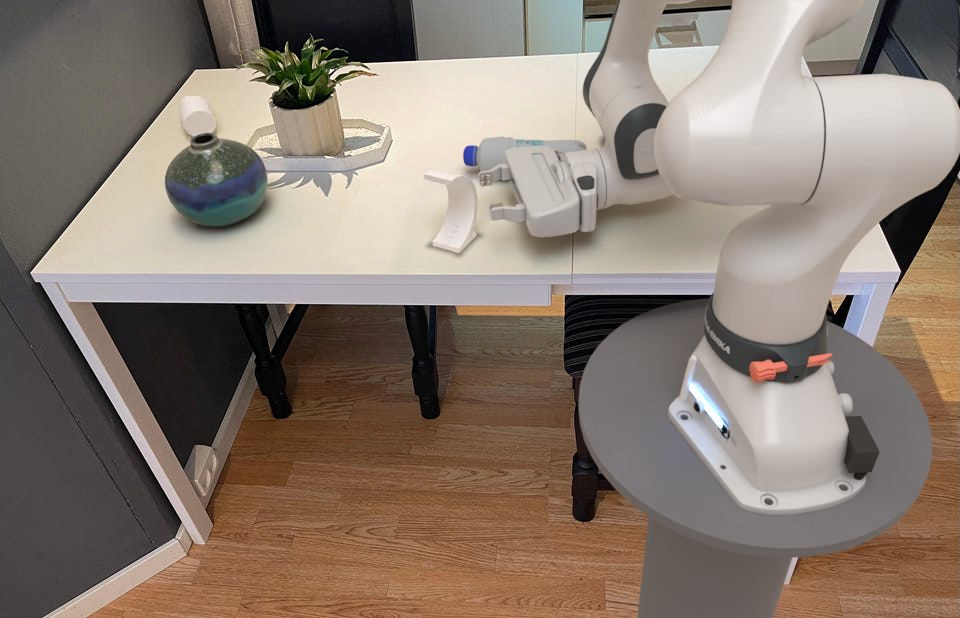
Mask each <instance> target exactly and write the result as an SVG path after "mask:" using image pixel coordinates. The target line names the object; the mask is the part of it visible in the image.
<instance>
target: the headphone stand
mask: <svg viewBox="0 0 960 618" xmlns="http://www.w3.org/2000/svg"><path fill="white" fill-rule="evenodd" d="M423 180H425V181H429V182H433V183H437V184H440V185H445V187H446V191H447V199H448V200H447V210H446V215H445V218H444V222H443V224H442V226H441V228H440V230H439V232H438V233H437V235H436V236H435V237H434V239H432V246H433V247H436V248H440V249H442V250H445V251H446V250H447V251H450V252H454V253H457V254H460V253H461V252H462V251H463V250H464V249H465V248H467V246H468V245H469V244H470V243H471V242H472V241H473V240H474V239H475V238H476V237H477V236H478V234H477V231H476V230H474V228H475V224H476V222H477V221H476V220H477V214H478V206H479V205H478V204H479V203H478V200H479V199H478V192H477V187H476V185H475V184H474V182H473V180H472V179H471V178H470V177H468V176H467V175H463V174H458V173H454V172H450V171H445V170H441V169H437V168H432V169H429V170H427V171H426V172H424V173H423Z"/></svg>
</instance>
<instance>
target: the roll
mask: <svg viewBox="0 0 960 618" xmlns="http://www.w3.org/2000/svg"><path fill="white" fill-rule="evenodd" d="M178 113H179V117H180V121H181V123H182V126H183V129H184V131H185V132H186V133H187V134H188V135H190V136H191V137H192V138H193V137H194V136H196V135H199V134H203V133H213V134H214V132H215V131H216V129H217V120H216V117H215V115H214V113H213V109H212V106H211V103H210V101H209V100H208V99H206V98H204V97H201V96H199V95H186V96H184V97H183V98H182V100H180V102H179V105H178Z"/></svg>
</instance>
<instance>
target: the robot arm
mask: <svg viewBox="0 0 960 618" xmlns="http://www.w3.org/2000/svg"><path fill="white" fill-rule="evenodd" d="M695 1H696V0H616V4H615V6H614V10H613V13H612V17H611V20H610V23H609V27H608V30H607V33H606V37H605V40H604V44H603V46H602V47H601V50H600V52H599V53H598V55H597V57H596V59H595V60H594V62H593V63H592V65H591V66H590V68H589V70H588V71H587V73H586V75H585V78H584V81H583V85H582V97H583V101H584V104H585V106H586V107H587V108H588V110H589V112H590V113H591V114H592V115H593V117H594V118H595V120H596V122H597V124H598V126H599V128H600V131H601V133H602V134H603V136H604V138H605V137H606V138H605V145H604V144H603V146H602V147H594V148H588V149H587V150H581V151H574V152H567V153H562V152H561V151H559V152H558V151H556V150H554V149H552V148H551V147H548V146H522V147H512V148H509V149H507V150H506V151H504V164H499V165H497V166H495V167H494V168H492V169H490V170H488V171H479V172H478V173H477V177H478V179H477V180H478V182H479V185H480V186H481V187H483V188H484V187H490V186H493V183H495V182H497V181H500V180H501V181H502V182H503V181H509V184H510V187H511V189H512V191H513V194H514V197H515V199H516V202H517V203H516V204H515V206H511V205H503V204H502V202H500V203H496V204H494V203H492V204H490V205H489V207H488V208H489V216H490V219H491V221H494V222H495V221H501V220H504V221H509V222H514V223H523V222H525V225H526V227H527V229H528V232H529V234H530V236H533V237H537V238H553V237H560V236H564V235H569V234H574V233H576V232H578V230H580V232H582V233H588V232H589V233H590V232H593V231H595V229H596V225H597V211H598V210H604V209H605V210H606V209H608V208H609V207H611V206H615V205H628V206H631V205H639V204H645V203H649V202H655V201H659V200H663V199H666V198H669V197H673V196H675V197H676V198H677V199H679V200H680V199H681V200H685V201H691V202H696V203H701V204H702V203H703V204H708V205H716V206H724V207H741V206H742V207H746V206H748V207H749V206H767V207H765V208H763V209H761V210H760V211H757V212H755V213H753V214H751V215H749V216H747V217H745V219H742V220H741V221H740V222H738V223H737V224H735V226H734V227H733V228H732V229H731V230H730V232H729V233H728V234H727V236H726V237H725V239H724V241H723V243H722V244H721V247H720V250H719V257H718V263H717V270H716V274H715V281H714V288H713V292H712V293H711V294H710V297H709V298H708V299H709V302H708V305H707V307H706V311H705V318H704V321H705V323H704V336H703V338H702V340H701V341H700V343H699V345H698V346H697V348H696V349H695V351H694V352H693V353H692V355H691V357H690V358H689V361H688V365H687V369H686V373H685V376H684V380H683V384H682V388H681V392H680V395H679V396H678V397H677V398H676V399H675V400H674V401H673V402H672V403H671V404H670V406H669V409H668V412H667V416H668V418H669V419H670V421H671V422H672V423H673V424H674V426H675V427H676V428H677V430H678V431H679V432H680V433H681V435H682V436H683V437H684V439H685V440H686V441H687V442H688V444H689V445H690V446H691V448H692V449H693V450H694V451H695V453H696V454H697V455H698V456H699V458H700V459H701V460H702V462H703V463H704V464H705V465H706V467H707V468H708V469H709V471H710V472H711V473H712V474H713V476H714V477H715V478H716V479H717V481H718V482H719V483H720V485H721V486H722V487H723V488H724V490H725V491H726V492H727V494H728V495H729V496H730V497H731V499H732V500H733V501H734V502H735V504H736V505H737V506H738V507H739V508H741V509H743V510H746V511H749V512H753V513H757V514H764V515H796V514H803V513H810V512H815V511H819V510H824V509H828V508H831V507H834V506H837V505H840V504H842V503H844V502H847V501H848V500H850V499H852V498H853V497H855V496H856V495H857V494H859V493H860V491H861V490H862V489H863V488H864V486H865V482H866V477H865V475H866V474H867V473H868V472H872V470H873V468H874V465H875V463H876V460H877V458H878V455H879V452H880V451H879V449H878V447H877V445H876V444H875V442H874V440H873V438H872V436H871V434H870V432H869V430H868V428H867V426H866V424H865V422H864V420H863V418H862V416H846V417H845V415H849V414H851V413H852V410H853V403H852V399H851V397H850V395H849V394H847V393H840V394H838V393H837V390H836V387H835V384H834V381H833V378H832V375H831V374H833V373H834V364H833V362H831V361H830V360H826V359H827V358H829V357H831V356H832V353H828V354H827V337H828V327H827V321H828V318H827V317H828V316H827V313H826V312H827V308H828V305H829V303H830V299H831V296H832V293H833V290H834V287H835V286H836V285H835V284H836V282H837V280H838V277H839V274H840V272H841V269H842V268H843V266H844V264H845V262H846V260H847V259H848V257H849V256H850V254H851V253H852V252H853V251H854V249H855V248H856V247H857V245H858V244H859V243H860V242H861V241H862V240H863V239H864V237H866V236H867V234H869V233H870V232H871V231H872V230H873V229H874V228H875V227H876V226H877V225H878V224H879V223H881V221H883V220H884V219H885V218H886V217H887V216H889V215H890V214H891V213H893V212H894V211H896V210H897V209H898V208H900V207H901V206H903V205H904V204H906V203H908V202H909V201H911V200H913V199H914V198H916V197H918V196H920V195H922V194H925V193H927V192H928V191H931V190H933V189H934V188H936V187H937V186H939V184H941V183H942V182H943V181H944V180H945V179H946V177H947V176H948V175H949V174H950V172H951V171H952V169H953V167H954V166H955V165H956V162H957V160H958V159H959V156H960V107H959V104H958V102H957V100H956V99H955V97H954V96H953V94H952V93H951V91H950V90H949V89H948V88H947V86H945V85H944V84H942V83H941V82H938V81H935V80H934V81H933V80H928V79H923V78H917V77H911V76H902V75H896V74H888V73H870V74H868V73H867V74H850V75H849V74H847V75H830V76H828V75H827V76H826V75H825V76H808V75H807V76H806V75H804V76H803V75H802V60H803V59H802V58H803V54H804V50H805V48H806V47H807V46H809V45H811V44H812V43H815V42H817V41H818V40H820V39H822V38H825V37H826V36H828V35H829V34H831V33H832V32H835V31H837V30H838V29H839V28H841V27H843V26H844V25H845V24H847V23H848V22H849V21H851V20H852V19H853V18H854V17H855V16H856V15H857V14H858V13H859V12H860V10H861V9H862V7H863V6H864V4H865V3H866V1H867V0H732V2H731V9H730V16H729V19H728V23H727V27H726V29H725V32H724V35H723V37H722V39H721V42H720V44H719V46H718V48H717V50H716V51H715V52H714V55H713V56H712V58H711V60H710V61H709V62H708V64H707V65H706V67H705V68H704V69H703V70H702V71H701V72H700V73H699V74H698V76H696V78H695V79H694V80H693V81H691V82H690V83H689V84H688V85H687V86H686V87H685V88H684V89H682V90H681V91H679V92H678V93H677V94H676V95H675V96H674V97H673V98H672V99H671V101H670V102H669V101H668V99H667V97H666V96H665V94H664V93H663V92H662V90H661V88H660V87H659V85H658V84H657V82H656V80H655V78H654V77H653V74H652V71H651V67H650V63H649V53H650V49H651V46H652V44H653V41H654V38H655V36H656V32H657V30H658V26H659V25H660V24H659V23H660V21H661V19H662V14H663V12H664V10H665V8H666V6H667V5H680V4H681V5H682V4H683V5H684V4H689V3H693V2H695ZM682 419H686V420H682ZM841 489H844V490H845V491H842V490H841ZM765 503H770V504H771V505H767V504H765Z"/></svg>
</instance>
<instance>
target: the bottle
mask: <svg viewBox="0 0 960 618" xmlns="http://www.w3.org/2000/svg"><path fill="white" fill-rule="evenodd" d="M522 146H548V147H551V148H552V149H554V150H556V151H558V152H559V151H561V152H562V153H567V152H574V151H581V150H588V149H587V148H588V147H587V144H586V143H584V142H583V141H581V140H575V139H557V140H547V139H546V140H542V139H515V138H514V137H511V136H509V137H507V136H503V135H502V136H497V137H485V138H483V139H482V140H481V142H480V143H479V145H471V144H470V145H466V146H465V147H464V149H463V152H462V160H463V163H464V165H465V166H467V167H478V169H479V172H481V171H488V170H490V169H492V168H494V167H495V166H497V165H499V164H504V151H506V150H507V149H509V148H512V147H522Z"/></svg>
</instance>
